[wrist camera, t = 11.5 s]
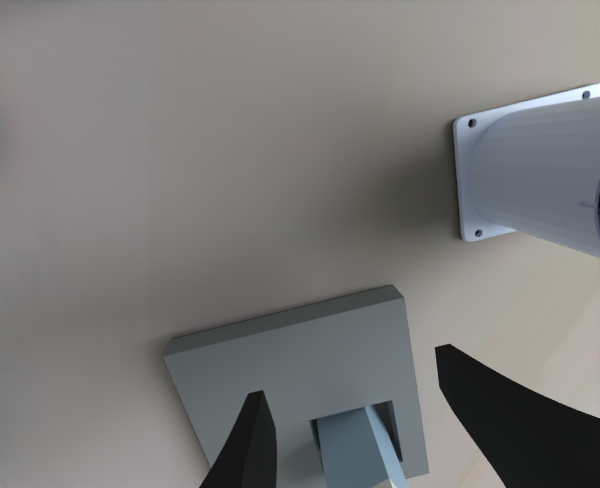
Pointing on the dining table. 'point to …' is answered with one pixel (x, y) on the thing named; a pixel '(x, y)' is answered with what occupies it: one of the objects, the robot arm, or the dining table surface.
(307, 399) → the grey socket board
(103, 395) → the dining table surface
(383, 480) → the plug block
